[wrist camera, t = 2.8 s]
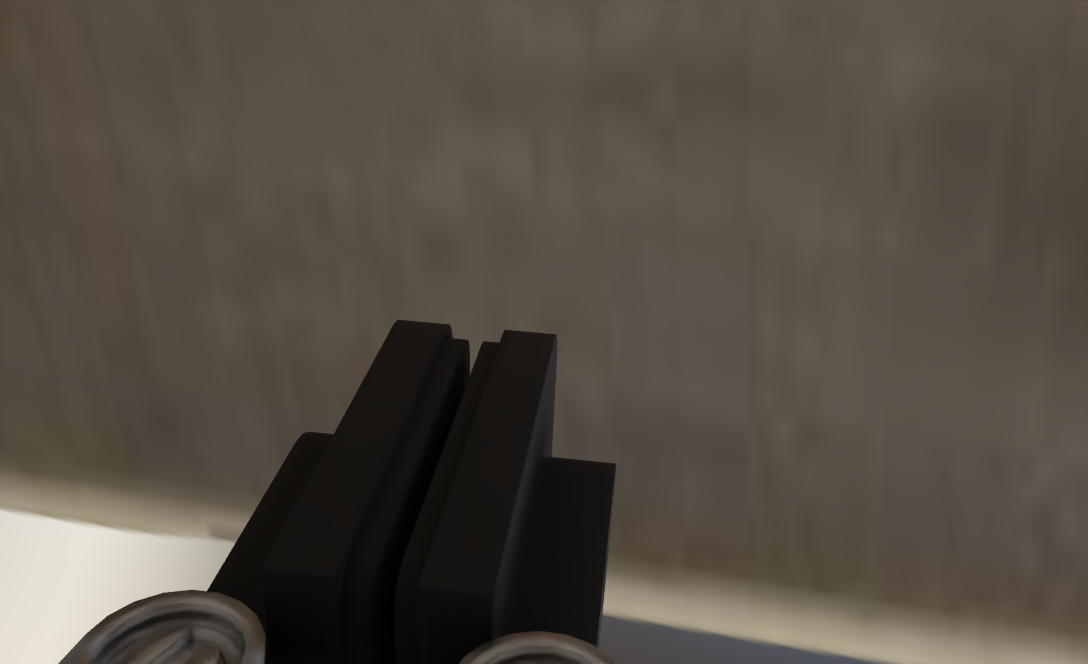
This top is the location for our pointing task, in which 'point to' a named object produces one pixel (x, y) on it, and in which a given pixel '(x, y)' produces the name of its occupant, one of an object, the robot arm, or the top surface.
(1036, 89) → the top surface
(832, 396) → the top surface
